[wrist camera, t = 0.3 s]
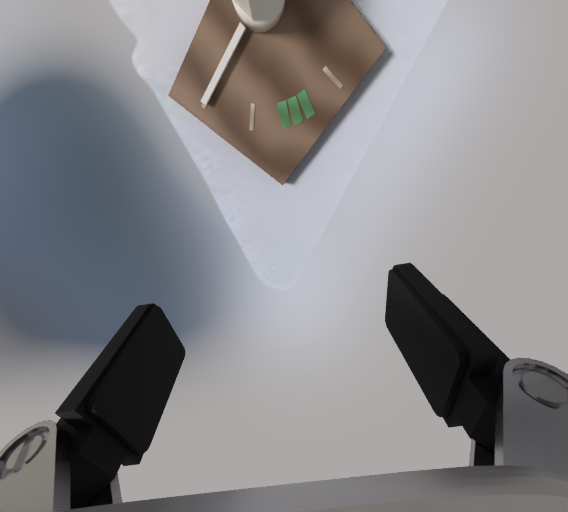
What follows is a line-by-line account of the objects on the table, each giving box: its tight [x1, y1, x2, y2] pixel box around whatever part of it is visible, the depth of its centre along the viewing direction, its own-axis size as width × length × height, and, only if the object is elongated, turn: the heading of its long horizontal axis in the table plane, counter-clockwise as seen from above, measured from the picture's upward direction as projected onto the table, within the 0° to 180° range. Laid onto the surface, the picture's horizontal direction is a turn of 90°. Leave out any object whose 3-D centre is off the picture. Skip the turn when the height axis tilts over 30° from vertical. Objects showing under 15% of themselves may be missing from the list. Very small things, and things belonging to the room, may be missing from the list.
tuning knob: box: [201, 0, 285, 106], centre depth 22 cm, size 15×6×8 cm, turn 142°
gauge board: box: [168, 0, 386, 185], centre depth 28 cm, size 20×18×2 cm
